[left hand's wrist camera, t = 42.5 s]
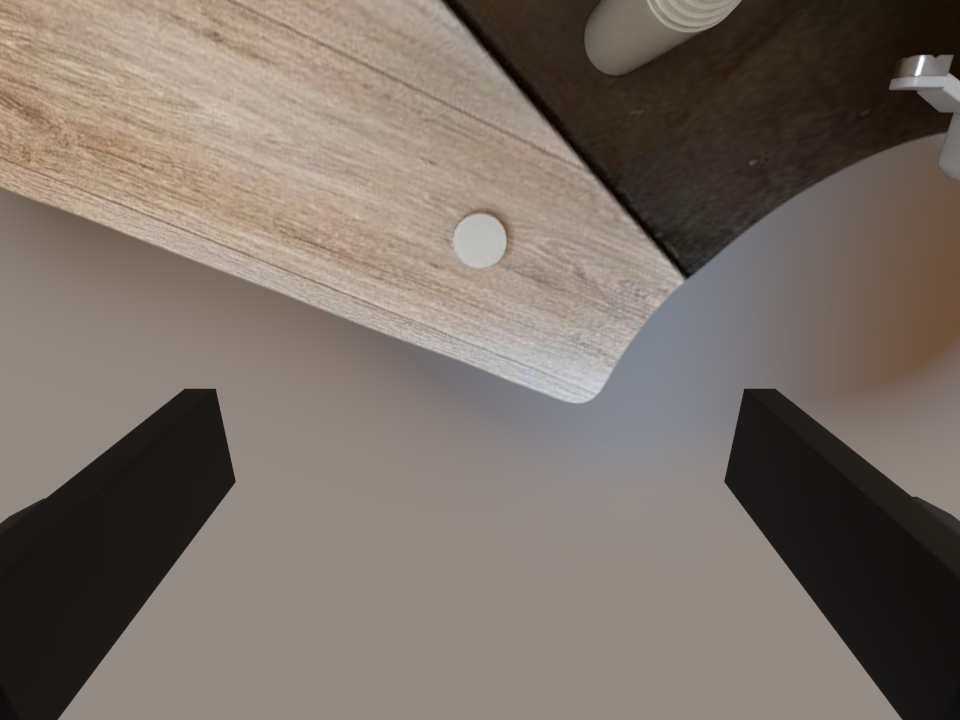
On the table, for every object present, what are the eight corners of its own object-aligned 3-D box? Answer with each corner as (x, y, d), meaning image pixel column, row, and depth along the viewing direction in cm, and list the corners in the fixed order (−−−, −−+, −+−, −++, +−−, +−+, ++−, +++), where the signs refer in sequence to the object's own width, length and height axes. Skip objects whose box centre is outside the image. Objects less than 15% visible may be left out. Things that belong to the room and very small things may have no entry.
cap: (492, 273, 45) (493, 277, 43) (445, 252, 44) (443, 255, 43) (515, 225, 43) (516, 227, 42) (465, 202, 43) (465, 203, 41)
